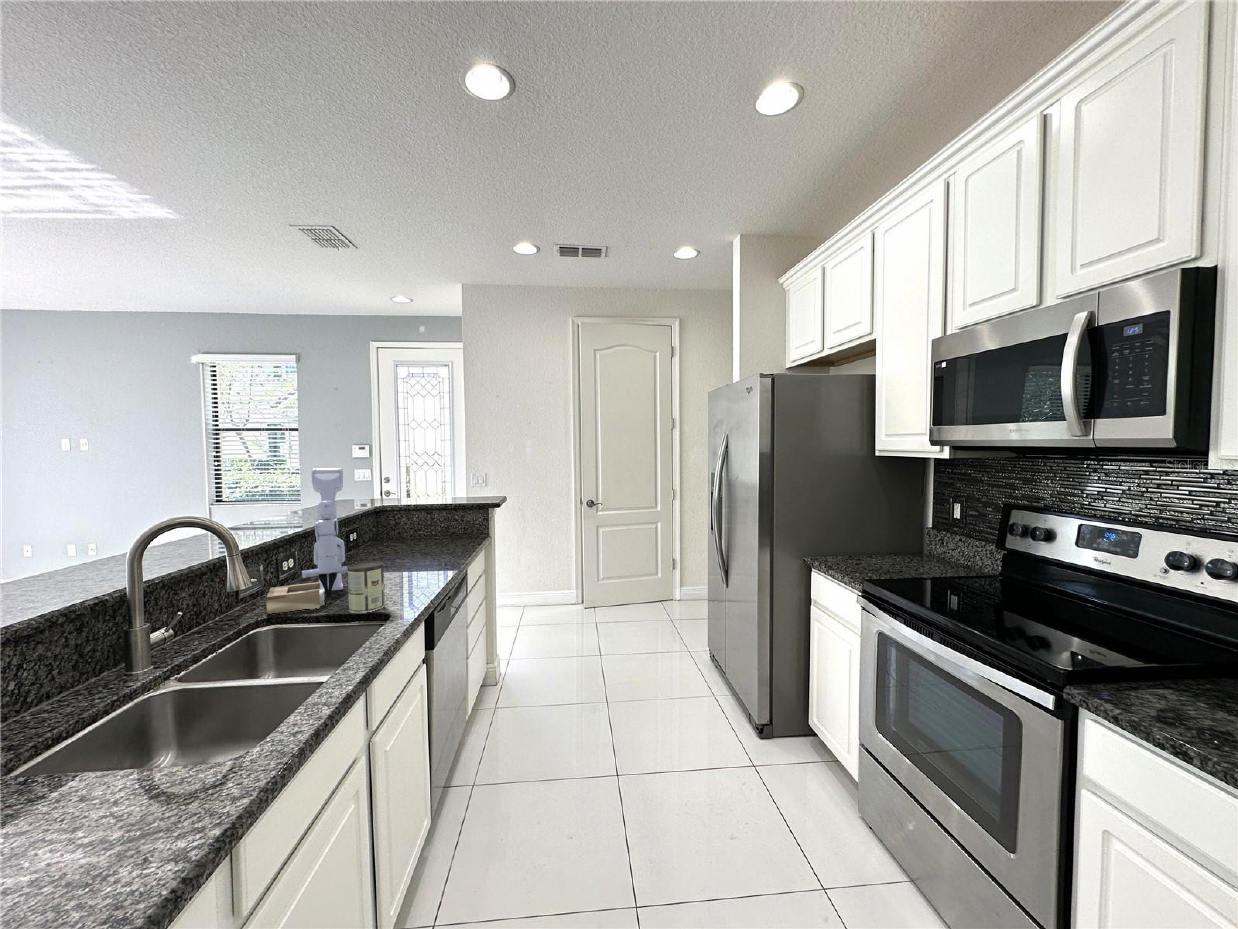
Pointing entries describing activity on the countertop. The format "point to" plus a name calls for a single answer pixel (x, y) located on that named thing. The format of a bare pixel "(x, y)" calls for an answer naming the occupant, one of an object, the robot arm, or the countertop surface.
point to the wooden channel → (293, 598)
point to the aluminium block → (321, 592)
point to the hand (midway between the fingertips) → (328, 596)
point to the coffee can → (365, 586)
